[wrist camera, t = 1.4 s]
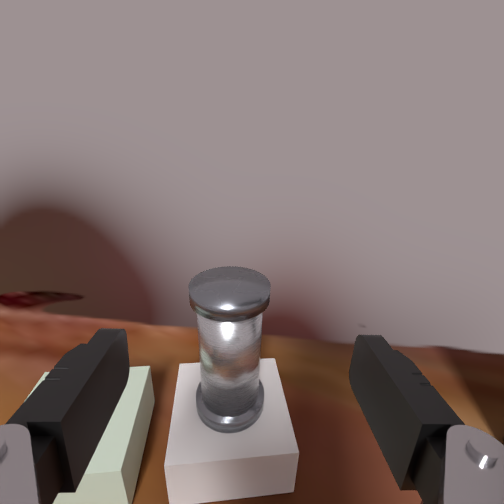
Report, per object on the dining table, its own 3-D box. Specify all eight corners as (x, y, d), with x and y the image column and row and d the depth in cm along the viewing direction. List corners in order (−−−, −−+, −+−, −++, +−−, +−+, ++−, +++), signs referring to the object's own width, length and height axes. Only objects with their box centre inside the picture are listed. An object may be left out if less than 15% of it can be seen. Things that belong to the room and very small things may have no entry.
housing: (258, 373, 29) (263, 265, 25) (268, 429, 24) (277, 304, 19) (198, 377, 28) (191, 267, 24) (194, 436, 23) (184, 308, 18)
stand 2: (271, 392, 33) (274, 358, 31) (293, 492, 24) (299, 452, 22) (182, 398, 32) (179, 363, 30) (169, 506, 23) (164, 466, 21)
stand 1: (154, 401, 32) (149, 365, 30) (130, 511, 22) (120, 470, 21) (56, 408, 30) (44, 372, 29) (-12, 528, 21) (-36, 486, 19)
